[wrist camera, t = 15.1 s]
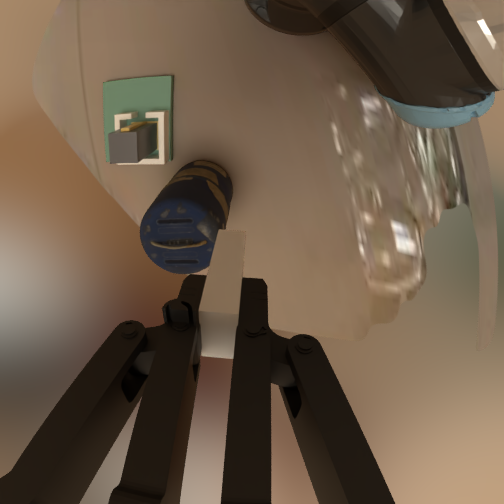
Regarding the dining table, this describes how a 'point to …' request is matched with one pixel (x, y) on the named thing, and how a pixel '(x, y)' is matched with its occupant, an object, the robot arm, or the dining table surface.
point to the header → (161, 134)
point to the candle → (187, 218)
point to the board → (137, 103)
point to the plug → (132, 142)
